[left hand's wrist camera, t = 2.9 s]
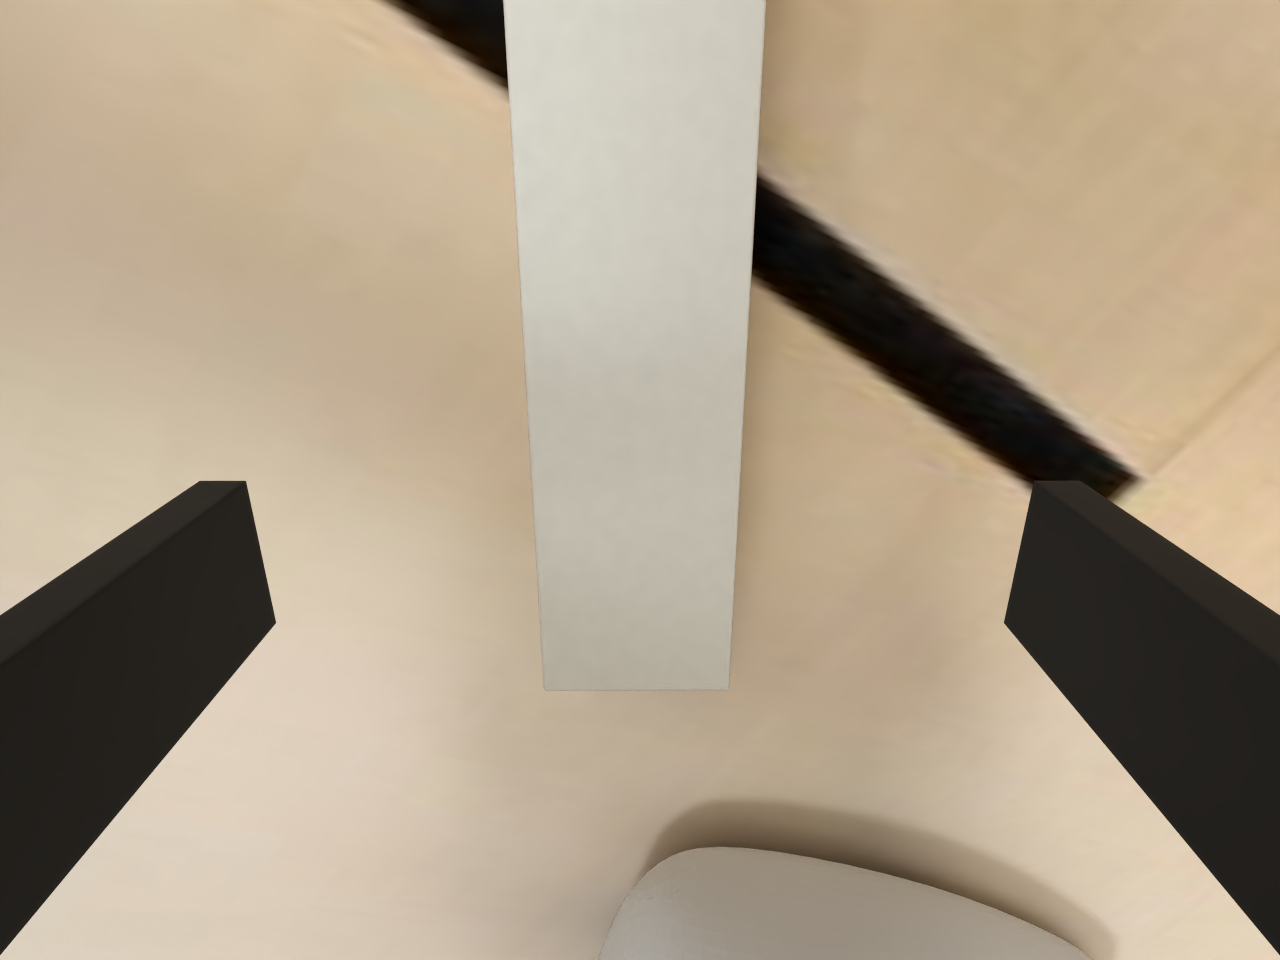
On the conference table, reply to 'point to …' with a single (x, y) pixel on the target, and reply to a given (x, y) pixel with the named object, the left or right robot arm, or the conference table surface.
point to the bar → (635, 325)
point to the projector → (809, 915)
